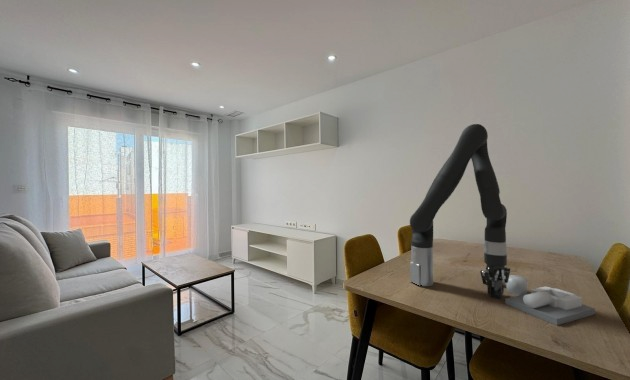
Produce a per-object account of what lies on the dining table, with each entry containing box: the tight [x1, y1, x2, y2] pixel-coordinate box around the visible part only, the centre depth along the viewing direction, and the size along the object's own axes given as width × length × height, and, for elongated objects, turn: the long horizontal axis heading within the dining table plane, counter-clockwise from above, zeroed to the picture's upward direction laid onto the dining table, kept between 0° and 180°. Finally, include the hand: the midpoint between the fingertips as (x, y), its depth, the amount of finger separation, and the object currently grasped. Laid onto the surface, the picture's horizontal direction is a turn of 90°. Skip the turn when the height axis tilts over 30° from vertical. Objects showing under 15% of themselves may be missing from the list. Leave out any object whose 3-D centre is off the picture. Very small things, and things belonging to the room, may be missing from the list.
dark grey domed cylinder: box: [488, 277, 503, 300], centre depth 103 cm, size 4×4×7 cm
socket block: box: [505, 285, 596, 326], centre depth 92 cm, size 20×16×6 cm
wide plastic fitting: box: [506, 274, 528, 296], centre depth 107 cm, size 7×7×6 cm
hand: (495, 294), depth 103 cm, fingers closed on dark grey domed cylinder, 4 cm apart
